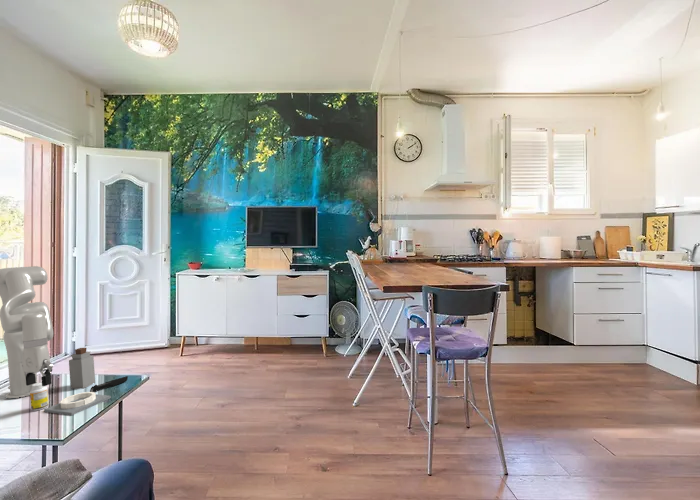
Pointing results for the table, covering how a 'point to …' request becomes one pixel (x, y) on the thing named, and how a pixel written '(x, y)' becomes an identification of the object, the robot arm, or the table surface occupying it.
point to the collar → (77, 403)
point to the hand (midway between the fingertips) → (38, 384)
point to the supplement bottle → (39, 397)
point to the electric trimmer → (108, 384)
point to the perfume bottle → (81, 369)
